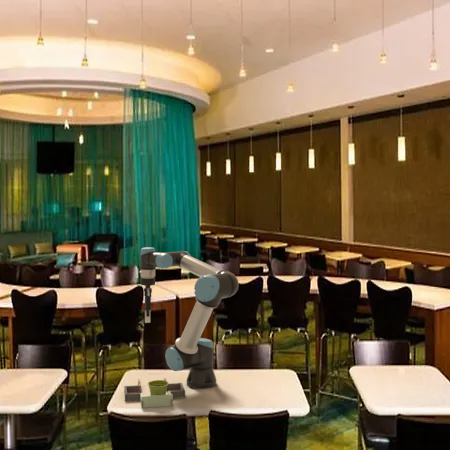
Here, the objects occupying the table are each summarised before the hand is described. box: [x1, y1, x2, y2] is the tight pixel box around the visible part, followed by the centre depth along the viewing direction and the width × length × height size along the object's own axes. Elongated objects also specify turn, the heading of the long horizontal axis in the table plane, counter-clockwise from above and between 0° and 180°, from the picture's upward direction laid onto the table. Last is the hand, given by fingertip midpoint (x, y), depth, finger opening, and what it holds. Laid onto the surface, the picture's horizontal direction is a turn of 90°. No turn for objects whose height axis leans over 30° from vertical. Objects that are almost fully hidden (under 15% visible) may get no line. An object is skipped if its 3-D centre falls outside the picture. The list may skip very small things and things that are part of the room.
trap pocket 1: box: [123, 384, 142, 402], centre depth 266 cm, size 12×8×3 cm, turn 12°
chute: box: [137, 377, 168, 393], centre depth 278 cm, size 10×14×3 cm
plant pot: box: [147, 379, 169, 395], centre depth 258 cm, size 9×9×9 cm
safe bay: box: [139, 390, 174, 409], centre depth 257 cm, size 11×14×5 cm
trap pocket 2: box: [166, 382, 186, 399], centre depth 270 cm, size 12×8×3 cm, turn 12°
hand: (147, 322), depth 292 cm, fingers closed
